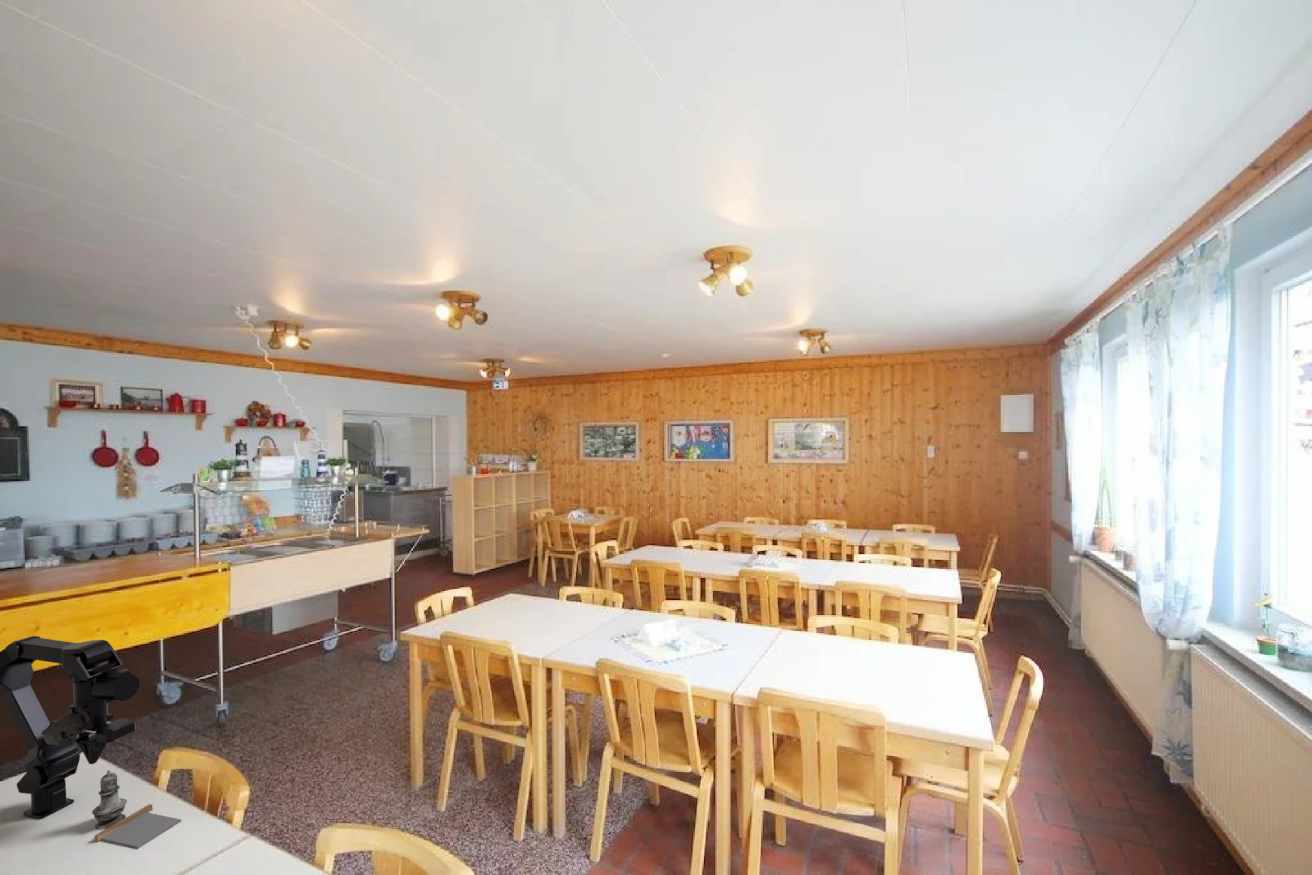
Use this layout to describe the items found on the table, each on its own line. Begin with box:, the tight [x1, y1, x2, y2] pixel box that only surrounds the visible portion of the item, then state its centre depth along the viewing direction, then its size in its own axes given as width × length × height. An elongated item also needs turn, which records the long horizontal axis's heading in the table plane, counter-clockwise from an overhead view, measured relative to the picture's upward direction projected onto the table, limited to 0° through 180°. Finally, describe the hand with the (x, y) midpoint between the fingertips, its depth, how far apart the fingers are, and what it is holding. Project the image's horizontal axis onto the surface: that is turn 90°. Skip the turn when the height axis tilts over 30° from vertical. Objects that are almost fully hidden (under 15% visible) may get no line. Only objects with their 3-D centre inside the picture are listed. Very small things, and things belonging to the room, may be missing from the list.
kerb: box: [94, 803, 154, 843], centre depth 134 cm, size 1×11×1 cm, turn 165°
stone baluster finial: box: [91, 770, 128, 831], centre depth 135 cm, size 6×6×12 cm
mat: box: [100, 812, 182, 849], centre depth 132 cm, size 11×9×1 cm
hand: (93, 763), depth 138 cm, fingers closed
